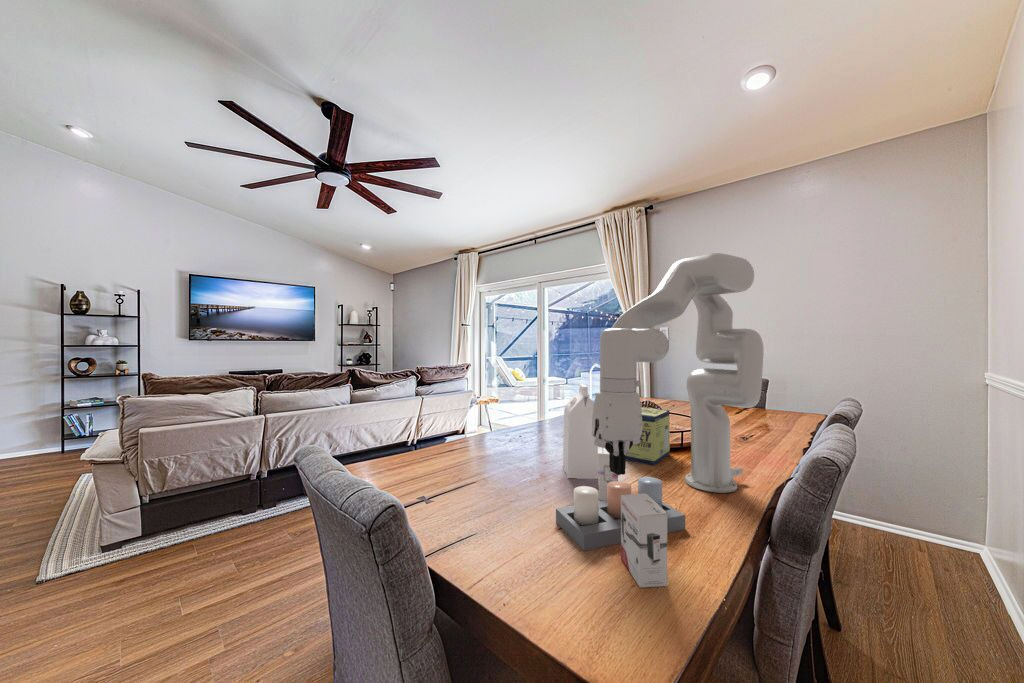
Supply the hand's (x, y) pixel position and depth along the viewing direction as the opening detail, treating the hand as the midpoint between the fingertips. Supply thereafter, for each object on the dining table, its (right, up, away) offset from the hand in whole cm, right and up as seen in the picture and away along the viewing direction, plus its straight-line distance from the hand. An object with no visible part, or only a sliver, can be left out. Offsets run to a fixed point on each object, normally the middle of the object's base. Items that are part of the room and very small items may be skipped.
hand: (617, 472), depth 80 cm
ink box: (0, -12, -16) cm, 20 cm away
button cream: (-7, -9, -2) cm, 12 cm away
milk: (-1, -12, +34) cm, 36 cm away
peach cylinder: (0, -9, 0) cm, 9 cm away
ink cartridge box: (+2, -12, +17) cm, 21 cm away
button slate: (+8, -9, +3) cm, 12 cm away
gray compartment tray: (0, -11, 0) cm, 11 cm away
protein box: (+23, -12, +47) cm, 54 cm away
